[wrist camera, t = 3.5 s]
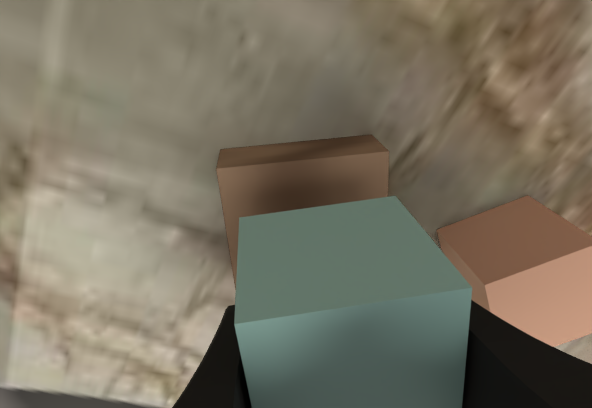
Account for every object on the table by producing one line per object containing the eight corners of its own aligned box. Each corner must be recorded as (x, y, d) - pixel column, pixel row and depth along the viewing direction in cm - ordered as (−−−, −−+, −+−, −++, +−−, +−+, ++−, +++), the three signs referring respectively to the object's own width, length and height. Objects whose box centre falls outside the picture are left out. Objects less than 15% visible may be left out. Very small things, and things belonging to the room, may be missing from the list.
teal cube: (395, 195, 13) (472, 287, 9) (396, 319, 15) (458, 445, 11) (239, 217, 13) (234, 324, 8) (261, 340, 15) (267, 479, 10)
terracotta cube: (527, 194, 22) (600, 242, 17) (537, 268, 24) (605, 328, 19) (435, 229, 22) (484, 285, 17) (454, 299, 24) (501, 365, 19)
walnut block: (369, 132, 20) (388, 151, 17) (369, 258, 22) (385, 291, 20) (221, 147, 19) (216, 168, 16) (240, 273, 22) (238, 309, 19)
